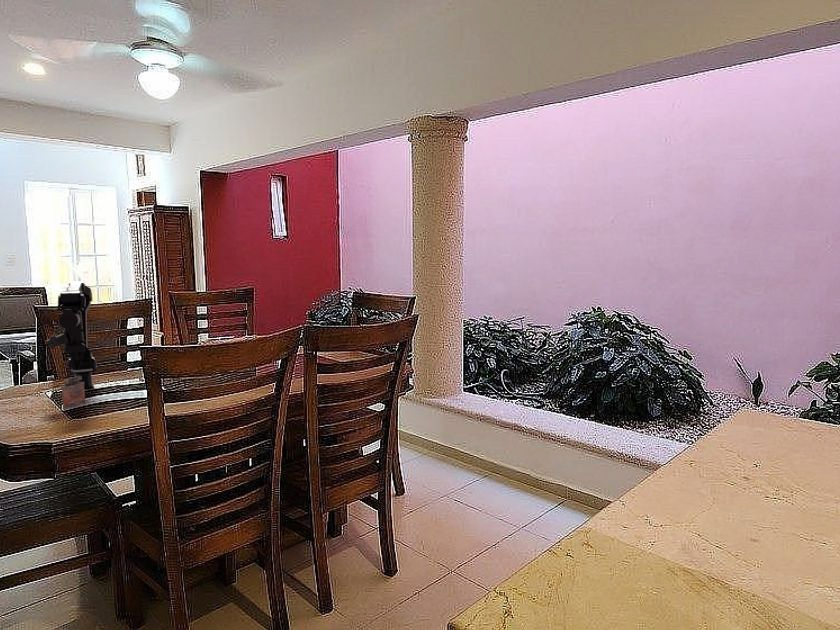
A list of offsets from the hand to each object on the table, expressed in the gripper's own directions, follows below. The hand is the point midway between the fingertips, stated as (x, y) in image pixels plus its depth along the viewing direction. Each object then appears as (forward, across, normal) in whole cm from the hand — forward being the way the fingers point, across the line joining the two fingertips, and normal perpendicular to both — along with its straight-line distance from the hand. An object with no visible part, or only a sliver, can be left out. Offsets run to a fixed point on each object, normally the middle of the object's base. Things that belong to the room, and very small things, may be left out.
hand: (76, 369), depth 208 cm
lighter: (+11, +10, -2) cm, 15 cm away
